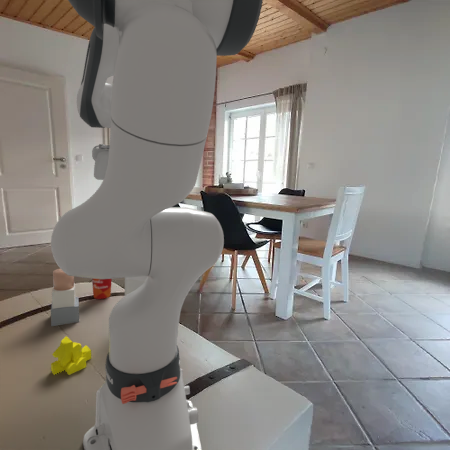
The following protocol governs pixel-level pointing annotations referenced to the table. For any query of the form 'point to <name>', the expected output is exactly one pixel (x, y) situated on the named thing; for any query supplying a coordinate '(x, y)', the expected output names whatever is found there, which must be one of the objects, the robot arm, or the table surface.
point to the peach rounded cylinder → (62, 280)
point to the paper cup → (101, 288)
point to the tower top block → (63, 298)
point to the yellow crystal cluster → (70, 357)
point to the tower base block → (65, 314)
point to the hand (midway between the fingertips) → (133, 198)
